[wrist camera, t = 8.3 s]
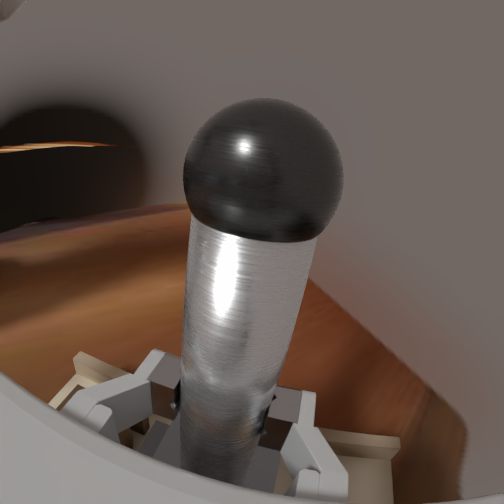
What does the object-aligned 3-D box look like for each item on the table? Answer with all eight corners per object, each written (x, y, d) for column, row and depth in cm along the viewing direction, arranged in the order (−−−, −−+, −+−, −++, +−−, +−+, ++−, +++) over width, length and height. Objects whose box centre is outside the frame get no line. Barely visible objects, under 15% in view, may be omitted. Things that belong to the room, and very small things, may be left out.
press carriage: (276, 449, 17) (374, 133, 10) (244, 575, 9) (525, 129, 2) (172, 419, 18) (193, 101, 11) (111, 531, 10) (-17, 76, 3)
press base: (377, 463, 18) (401, 434, 17) (374, 605, 7) (409, 597, 6) (87, 383, 21) (79, 348, 20) (2, 486, 10) (-25, 457, 9)
